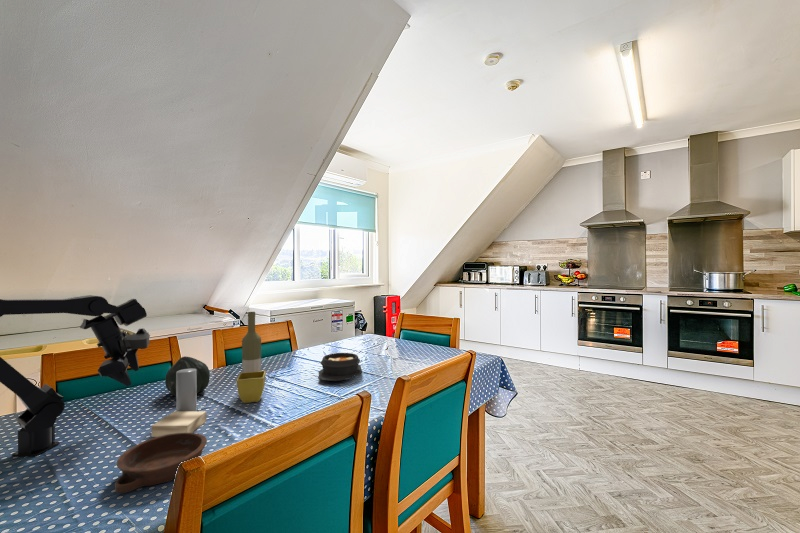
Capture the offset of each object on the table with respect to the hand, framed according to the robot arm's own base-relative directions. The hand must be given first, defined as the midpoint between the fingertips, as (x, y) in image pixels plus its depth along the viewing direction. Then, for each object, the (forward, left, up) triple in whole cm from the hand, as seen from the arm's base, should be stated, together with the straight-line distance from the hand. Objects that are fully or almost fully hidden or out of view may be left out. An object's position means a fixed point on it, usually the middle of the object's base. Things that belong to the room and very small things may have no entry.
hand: (133, 377), depth 112 cm
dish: (-27, -27, -14) cm, 41 cm away
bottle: (+26, -26, -13) cm, 39 cm away
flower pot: (+16, -30, -13) cm, 37 cm away
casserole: (+44, -57, -13) cm, 73 cm away
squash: (+24, -3, -13) cm, 28 cm away
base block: (-6, -18, -13) cm, 23 cm away
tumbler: (+4, -14, -13) cm, 20 cm away
